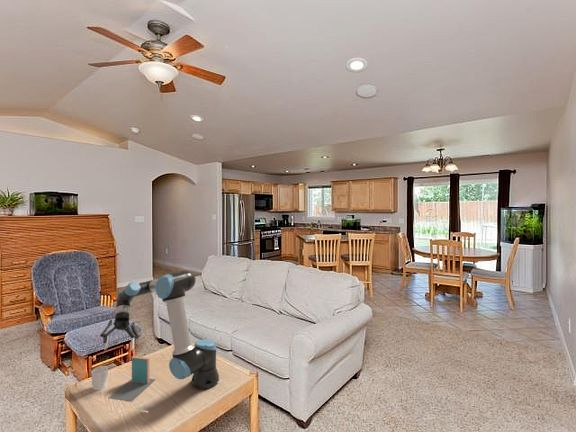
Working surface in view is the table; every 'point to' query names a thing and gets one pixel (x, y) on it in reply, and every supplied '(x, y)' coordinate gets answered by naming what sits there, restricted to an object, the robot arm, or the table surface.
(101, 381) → the white cup
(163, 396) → the table surface
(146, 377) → the tile
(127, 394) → the mat
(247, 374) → the table surface
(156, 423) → the table surface
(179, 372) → the robot arm
